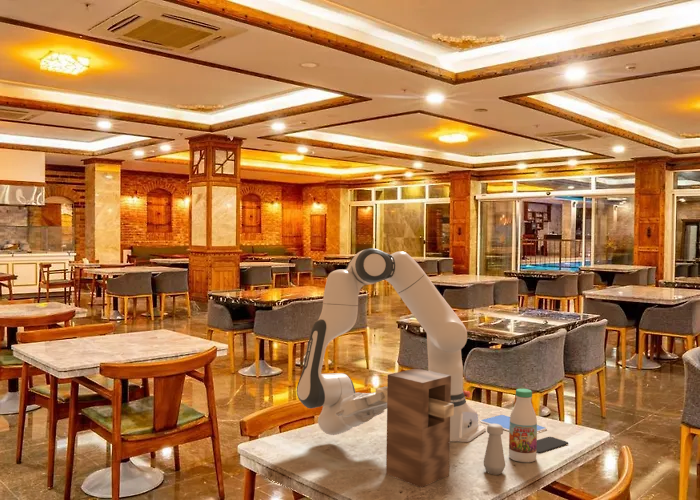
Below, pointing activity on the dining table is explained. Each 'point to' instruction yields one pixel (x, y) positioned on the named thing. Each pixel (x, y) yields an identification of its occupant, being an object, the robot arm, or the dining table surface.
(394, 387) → the walnut cabinet
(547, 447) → the phone
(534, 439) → the milk bottle
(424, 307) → the robot arm
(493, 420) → the tablet computer
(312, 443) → the dining table surface
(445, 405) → the pine bar
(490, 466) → the salt shaker
